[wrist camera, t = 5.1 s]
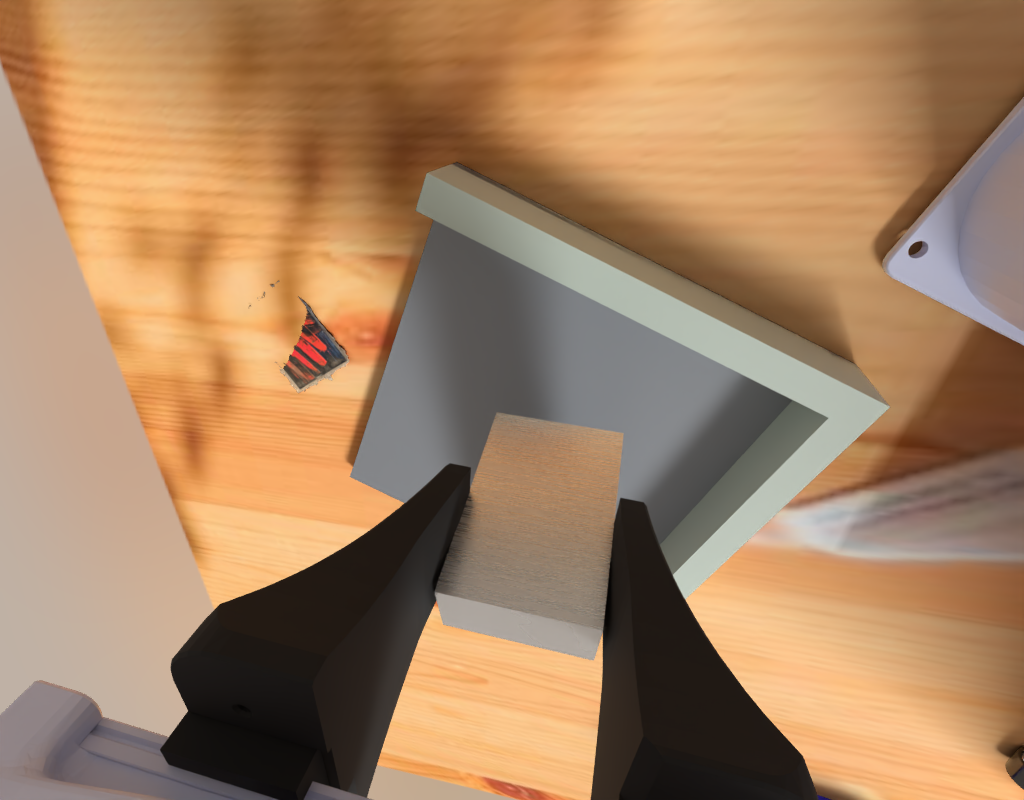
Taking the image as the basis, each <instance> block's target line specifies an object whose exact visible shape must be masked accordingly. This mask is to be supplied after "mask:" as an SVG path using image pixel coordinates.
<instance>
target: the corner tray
mask: <svg viewBox="0 0 1024 800" xmlns="http://www.w3.org/2000/svg"><path fill="white" fill-rule="evenodd" d="M415 211H417V212H419V213H421V214H423V215H425V216H427V217H429V218H431V219H433V223H432V226H431V229H430V232H429V235H428V238H427V241H426V245H425V248H424V251H423V254H422V257H421V260H420V263H419V266H418V269H417V272H416V275H415V278H414V281H413V285H412V288H411V291H410V294H409V297H408V300H407V303H406V306H405V309H404V312H403V315H402V318H401V321H400V325H399V328H398V331H397V334H396V337H395V340H394V343H393V346H392V349H391V352H390V355H389V358H388V361H387V365H386V368H385V371H384V374H383V377H382V380H381V383H380V386H379V389H378V392H377V395H376V398H375V401H374V405H373V408H372V411H371V414H370V417H369V420H368V423H367V426H366V429H365V432H364V435H363V438H362V441H361V445H360V448H359V451H358V454H357V457H356V460H355V463H354V466H353V469H352V472H351V475H350V477H351V478H354V479H356V480H358V481H360V482H362V483H364V484H366V485H368V486H370V487H372V488H374V489H376V490H379V491H381V492H383V493H385V494H387V495H389V496H391V497H393V498H395V499H397V500H399V501H401V502H404V503H406V502H407V501H408V500H409V499H410V498H411V497H413V496H414V495H415V494H416V493H417V492H418V491H420V490H421V489H422V488H423V487H424V486H425V485H426V484H427V483H428V482H429V481H430V480H432V479H433V478H434V477H435V476H436V475H437V474H438V473H439V472H440V471H441V470H442V469H443V468H444V467H445V466H446V465H448V464H449V463H452V464H457V465H462V466H467V467H471V478H470V488H471V485H472V482H473V479H474V476H475V473H476V470H477V467H478V465H479V462H480V459H481V456H482V453H483V450H484V447H485V444H486V442H487V439H488V436H489V433H490V430H491V427H492V424H493V421H494V418H495V416H496V413H497V412H498V413H504V414H510V415H516V416H522V417H529V418H535V419H541V420H547V421H553V422H559V423H565V424H571V425H577V426H583V427H589V428H596V429H602V430H608V431H614V432H620V433H624V435H623V445H622V454H621V464H620V473H619V483H618V493H617V502H616V512H615V517H616V513H617V509H618V505H619V501H620V498H625V499H630V500H635V501H640V502H644V503H645V505H646V506H647V509H648V512H649V516H650V519H651V522H652V525H653V528H654V531H655V534H656V537H657V539H658V542H659V544H660V547H661V549H662V552H663V554H664V556H665V559H666V561H667V563H668V566H669V568H670V570H671V572H672V574H673V577H674V579H675V581H676V583H677V585H678V587H679V589H680V591H681V593H682V595H683V597H684V598H685V599H686V598H687V597H688V596H689V595H690V594H691V593H692V592H694V591H695V590H696V589H697V588H698V587H699V586H700V585H701V584H702V583H703V582H704V581H705V580H706V579H707V578H708V577H710V576H711V575H712V574H713V573H714V572H715V571H716V570H717V569H718V568H719V567H720V566H721V565H722V564H723V563H724V562H726V561H727V560H728V559H729V558H730V557H731V556H732V555H733V554H734V553H735V552H736V551H737V550H738V549H739V548H740V547H742V546H743V545H744V544H745V543H746V542H747V541H748V540H749V539H750V538H751V537H752V536H753V535H754V534H755V533H756V532H758V531H759V530H760V529H761V528H762V527H763V526H764V525H765V524H766V523H767V522H768V521H769V520H770V519H771V518H772V517H774V516H775V515H776V514H777V513H778V512H779V511H780V510H781V509H782V508H783V507H784V506H785V505H786V504H787V503H788V502H790V501H791V500H792V499H793V498H794V497H795V496H796V495H797V494H798V493H799V492H800V491H801V490H802V489H803V488H804V487H806V486H807V485H808V484H809V483H810V482H811V481H812V480H813V479H814V478H815V477H816V476H817V475H818V474H819V473H820V472H822V471H823V470H824V469H825V468H826V467H827V466H828V465H829V464H830V463H831V462H832V461H833V460H834V459H835V458H836V457H838V456H839V455H840V454H841V453H842V452H843V451H844V450H845V449H846V448H847V447H848V446H849V445H850V444H851V443H852V442H854V441H855V440H856V439H857V438H858V437H859V436H860V435H861V434H862V433H863V432H864V431H865V430H866V429H867V428H868V427H870V426H871V425H872V424H873V423H874V422H875V421H876V420H877V419H878V418H879V417H880V416H881V415H882V414H883V413H884V412H886V411H887V410H888V409H889V408H890V406H889V405H888V404H887V402H886V401H885V400H884V399H883V397H882V396H881V395H880V394H879V392H878V391H877V390H876V389H875V387H874V386H873V385H872V384H871V382H870V381H869V380H868V379H867V377H866V376H865V375H864V374H863V372H862V371H861V370H860V369H859V367H858V366H857V365H856V364H854V363H852V362H850V361H848V360H846V359H844V358H842V357H840V356H838V355H836V354H834V353H832V352H830V351H828V350H826V349H824V348H822V347H820V346H819V345H817V344H815V343H813V342H811V341H809V340H807V339H805V338H803V337H801V336H799V335H797V334H795V333H793V332H791V331H789V330H787V329H785V328H783V327H781V326H779V325H777V324H775V323H773V322H771V321H769V320H767V319H765V318H763V317H761V316H759V315H757V314H755V313H753V312H751V311H750V310H748V309H746V308H744V307H742V306H740V305H738V304H736V303H734V302H732V301H730V300H728V299H726V298H724V297H722V296H720V295H718V294H716V293H714V292H712V291H710V290H708V289H706V288H704V287H702V286H700V285H698V284H696V283H694V282H692V281H690V280H688V279H686V278H684V277H682V276H681V275H679V274H677V273H675V272H673V271H671V270H669V269H667V268H665V267H663V266H661V265H659V264H657V263H655V262H653V261H651V260H649V259H647V258H645V257H643V256H641V255H639V254H637V253H635V252H633V251H631V250H629V249H627V248H625V247H623V246H621V245H619V244H617V243H615V242H613V241H611V240H610V239H608V238H606V237H604V236H602V235H600V234H598V233H596V232H594V231H592V230H590V229H588V228H586V227H584V226H582V225H580V224H578V223H576V222H574V221H572V220H570V219H568V218H566V217H564V216H562V215H560V214H558V213H556V212H554V211H552V210H550V209H548V208H546V207H544V206H542V205H541V204H539V203H537V202H535V201H533V200H531V199H529V198H527V197H525V196H523V195H521V194H519V193H517V192H515V191H513V190H511V189H509V188H507V187H505V186H503V185H501V184H499V183H497V182H495V181H493V180H491V179H489V178H487V177H485V176H483V175H481V174H479V173H477V172H475V171H473V170H471V169H470V168H468V167H466V166H464V165H462V164H460V163H458V162H456V163H453V164H450V165H448V166H445V167H442V168H439V169H436V170H433V171H431V172H428V173H427V174H426V177H425V180H424V184H423V187H422V190H421V194H420V197H419V200H418V204H417V207H416V210H415Z"/></svg>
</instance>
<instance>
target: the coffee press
mask: <svg viewBox="0 0 1024 800" xmlns="http://www.w3.org/2000/svg"><path fill="white" fill-rule="evenodd" d="M1006 770H1007V772H1008V774H1009V775H1010V777H1011V778H1012V779H1013V780H1014V781H1015V782H1016V783H1017V784H1018V785H1019V786H1020V787H1021V788H1022V789H1024V747H1021V748H1019V749H1018V751H1017V752H1016V753H1015V754H1014V755H1013V756H1012V757H1011V758H1010V759H1009V760H1008V761H1007V762H1006Z"/></svg>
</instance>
